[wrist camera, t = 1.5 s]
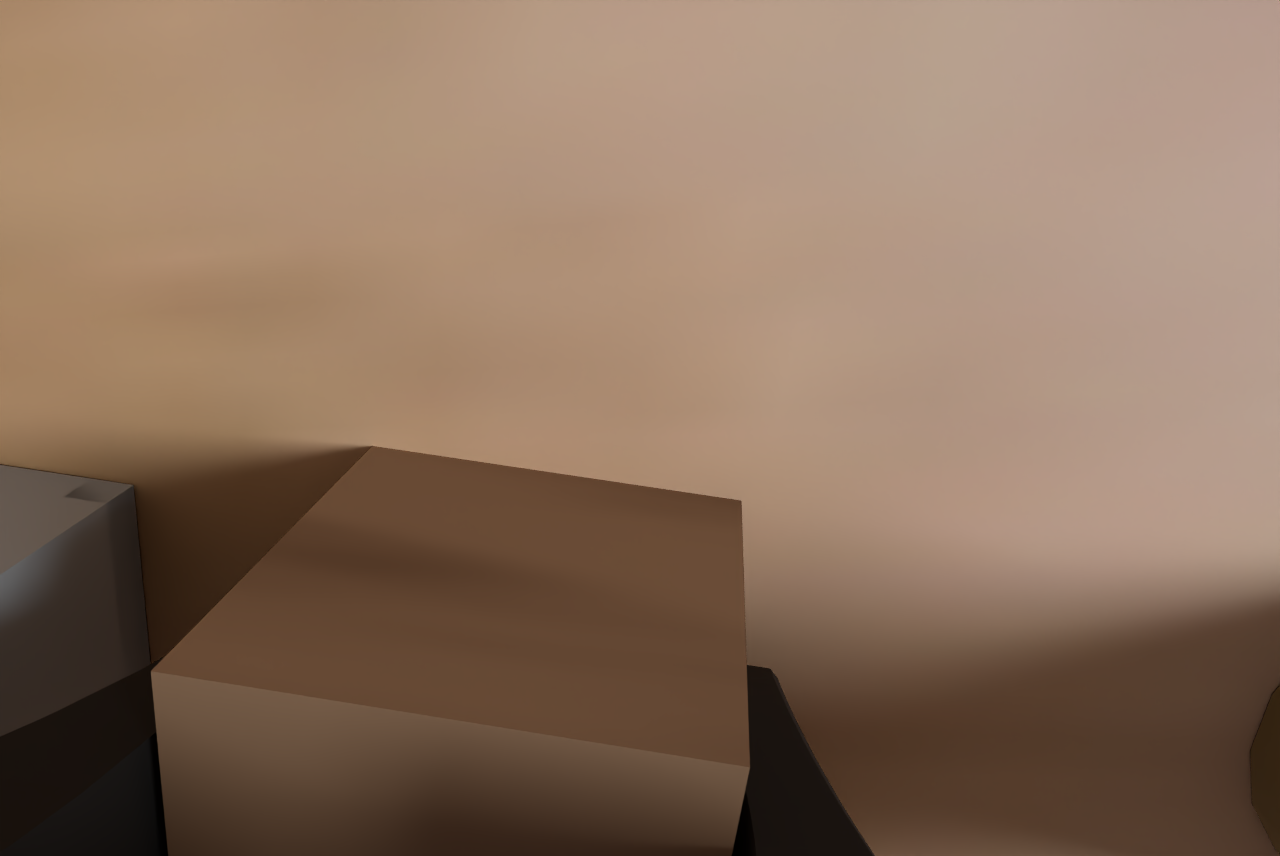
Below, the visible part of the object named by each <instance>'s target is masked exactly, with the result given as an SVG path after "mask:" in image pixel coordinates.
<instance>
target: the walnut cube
mask: <svg viewBox="0 0 1280 856" xmlns="http://www.w3.org/2000/svg"><path fill="white" fill-rule="evenodd" d="M151 679H152V690H153V700H154V711H155V721H156V732H157V742H158V753H159V763H160V774H161V784H162V795H163V806H164V816H165V827H166V837H167V848H168V856H732V851H733V847H734V842H735V837H736V832H737V827H738V822H739V818H740V813H741V808H742V803H743V798H744V794H745V789H746V784H747V779H748V774H749V770H750V754H749V722H748V691H747V660H746V629H745V598H744V567H743V536H742V505H741V501H739V500H733V499H726V498H719V497H712V496H706V495H699V494H692V493H685V492H679V491H672V490H665V489H658V488H652V487H645V486H638V485H631V484H625V483H618V482H611V481H604V480H598V479H591V478H584V477H577V476H571V475H564V474H557V473H550V472H544V471H537V470H530V469H523V468H517V467H510V466H503V465H496V464H490V463H483V462H476V461H469V460H463V459H456V458H449V457H442V456H436V455H429V454H422V453H415V452H409V451H402V450H395V449H388V448H382V447H375V446H372V447H371V448H370V449H369V450H368V451H367V452H366V453H365V454H364V455H363V456H362V457H361V458H360V459H359V460H358V461H357V462H356V463H355V464H354V465H353V466H352V467H351V468H350V469H349V470H348V471H347V472H346V473H345V474H344V475H343V476H342V477H341V478H340V479H339V480H338V481H337V482H336V483H335V484H334V485H333V486H332V487H331V488H330V489H329V490H328V492H327V493H326V494H325V495H324V496H323V497H322V498H321V499H320V500H319V501H318V502H317V503H316V504H315V505H314V506H313V507H312V508H311V509H310V510H309V511H308V512H307V513H306V514H305V515H304V516H303V517H302V518H301V519H300V520H299V521H298V522H297V523H296V524H295V525H294V526H293V527H292V528H291V529H290V530H289V531H288V532H287V533H286V534H285V535H284V536H283V537H282V538H281V539H280V540H279V541H278V542H277V543H276V544H275V545H274V546H273V547H272V548H271V549H270V550H269V551H268V553H267V554H266V555H265V556H264V557H263V558H262V559H261V560H260V561H259V562H258V563H257V564H256V565H255V566H254V567H253V568H252V569H251V570H250V571H249V572H248V573H247V574H246V575H245V576H244V577H243V578H242V579H241V580H240V581H239V582H238V583H237V584H236V585H235V586H234V587H233V588H232V589H231V590H230V591H229V592H228V593H227V594H226V595H225V596H224V597H223V598H222V599H221V600H220V601H219V602H218V603H217V604H216V605H215V606H214V607H213V608H212V609H211V610H210V611H209V613H208V614H207V615H206V616H205V617H204V618H203V619H202V620H201V621H200V622H199V623H198V624H197V625H196V626H195V627H194V628H193V629H192V630H191V631H190V632H189V633H188V634H187V635H186V636H185V637H184V638H183V639H182V640H181V641H180V642H179V643H178V644H177V645H176V646H175V647H174V648H173V649H172V650H171V651H170V652H169V653H168V654H167V655H166V656H165V657H164V658H163V659H162V660H161V661H160V662H159V663H158V664H157V665H156V666H155V667H154V668H153V669H152V670H151Z"/></svg>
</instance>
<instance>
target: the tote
mask: <svg viewBox="0 0 1280 856" xmlns="http://www.w3.org/2000/svg"><path fill="white" fill-rule="evenodd" d="M148 665H150V654H149V643H148V632H147V622H146V611H145V601H144V590H143V580H142V569H141V559H140V548H139V538H138V527H137V517H136V506H135V496H134V485H130V484H124V483H117V482H110V481H104V480H97V479H91V478H84V477H77V476H71V475H64V474H58V473H51V472H44V471H38V470H31V469H25V468H18V467H11V466H5V465H0V736H2V735H5V734H7V733H9V732H12V731H14V730H16V729H19V728H21V727H23V726H25V725H28V724H30V723H32V722H35V721H37V720H39V719H41V718H43V717H45V716H48V715H50V714H52V713H54V712H56V711H58V710H60V709H62V708H64V707H66V706H68V705H70V704H73V703H75V702H77V701H79V700H81V699H83V698H85V697H87V696H89V695H91V694H93V693H95V692H97V691H99V690H101V689H103V688H105V687H107V686H109V685H111V684H113V683H115V682H117V681H119V680H121V679H123V678H125V677H127V676H129V675H131V674H133V673H135V672H137V671H139V670H141V669H143V668H145V667H146V666H148Z"/></svg>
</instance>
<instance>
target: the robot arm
mask: <svg viewBox="0 0 1280 856" xmlns="http://www.w3.org/2000/svg"><path fill="white" fill-rule="evenodd" d="M163 658H164V657H163ZM163 658H161V659H159V660H158V661H156V662H154V663H152V664H150V665H148V666H146V667H145V668H143V669H141V670H139V671H137V672H135V673H133V674H131V675H129V676H127V677H125V678H123V679H121V680H119V681H117V682H115V683H113V684H111V685H109V686H107V687H105V688H103V689H101V690H99V691H97V692H95V693H93V694H91V695H89V696H87V697H85V698H83V699H81V700H79V701H77V702H75V703H73V704H70V705H68V706H66V707H64V708H62V709H60V710H58V711H56V712H54V713H52V714H50V715H48V716H45V717H43V718H41V719H39V720H37V721H35V722H32V723H30V724H28V725H25V726H23V727H21V728H19V729H16V730H14V731H12V732H9V733H7V734H5V735H2V736H0V856H168V848H167V837H166V827H165V816H164V806H163V795H162V784H161V774H160V763H159V753H158V742H157V732H156V721H155V711H154V700H153V690H152V679H151V670H152V669H153V668H154V667H155V666H156V665H157V664H158V663H159V662H160V661H161V660H162V659H163ZM747 691H748V722H749V754H750V770H749V774H748V779H747V784H746V789H745V794H744V798H743V803H742V808H741V813H740V818H739V822H738V827H737V832H736V837H735V842H734V847H733V851H732V856H875V855H874V854H873V852H872V851H871V849H870V848H869V846H868V845H867V843H866V842H865V840H864V838H863V837H862V835H861V834H860V832H859V831H858V829H857V828H856V826H855V825H854V823H853V822H852V820H851V818H850V817H849V815H848V813H847V812H846V810H845V809H844V807H843V805H842V804H841V802H840V800H839V799H838V797H837V795H836V793H835V792H834V790H833V788H832V786H831V785H830V783H829V781H828V779H827V778H826V776H825V774H824V772H823V771H822V769H821V767H820V765H819V764H818V762H817V760H816V758H815V756H814V754H813V753H812V751H811V749H810V747H809V745H808V743H807V741H806V739H805V737H804V735H803V733H802V731H801V729H800V727H799V725H798V723H797V721H796V719H795V717H794V715H793V713H792V711H791V708H790V706H789V704H788V702H787V700H786V697H785V695H784V693H783V691H782V688H781V686H780V683H779V681H778V678H777V677H776V676H775V674H774V673H773V672H772V670H771V669H769V668H762V667H756V666H749V665H747Z"/></svg>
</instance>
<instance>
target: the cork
mask: <svg viewBox="0 0 1280 856" xmlns="http://www.w3.org/2000/svg"><path fill="white" fill-rule="evenodd" d="M1250 756H1251V789H1252V805H1253V807H1254V809H1255V811H1256V813H1257V815H1258V817H1259V819H1260V821H1261V822H1262V824H1263V826H1264V828H1265V830H1266V832H1267V834H1268V836H1269V838H1270V840H1271V842H1272V844H1273V846H1274V848H1275V850H1276V851H1277V852H1278V853H1279V854H1280V686H1279V687H1278V688H1277V689H1276V691H1275V692H1274V693H1273V694H1272V696H1271V699H1270V701H1269V704H1268V706H1267V709H1266V712H1265V714H1264V717H1263V719H1262V722H1261V724H1260V727H1259V730H1258V732H1257V735H1256V737H1255V740H1254V743H1253V745H1252V748H1251V750H1250Z"/></svg>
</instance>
